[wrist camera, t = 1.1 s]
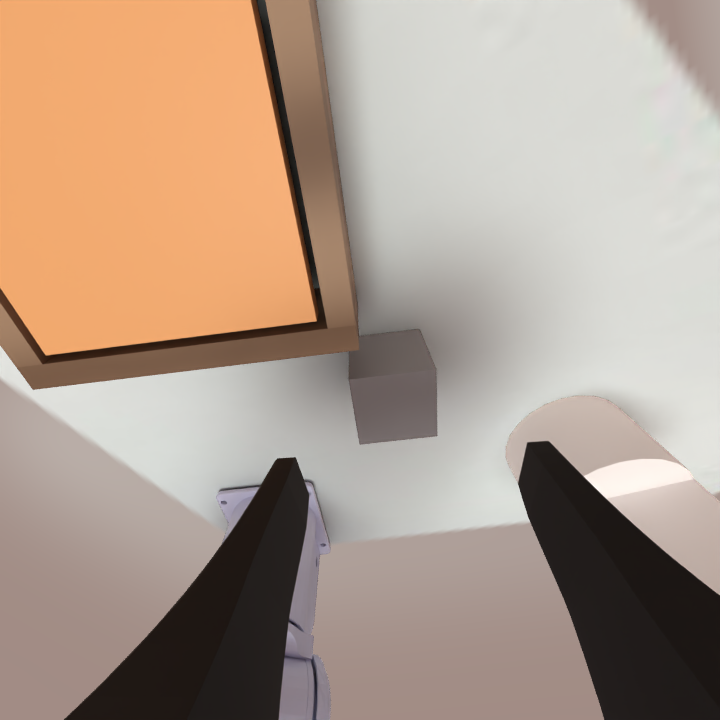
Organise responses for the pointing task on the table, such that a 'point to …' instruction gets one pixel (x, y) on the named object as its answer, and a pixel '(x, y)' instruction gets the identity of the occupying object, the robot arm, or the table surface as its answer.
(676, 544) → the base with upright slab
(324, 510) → the table surface
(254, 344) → the wooden box
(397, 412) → the gray block
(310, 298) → the orange flap
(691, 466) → the table surface
